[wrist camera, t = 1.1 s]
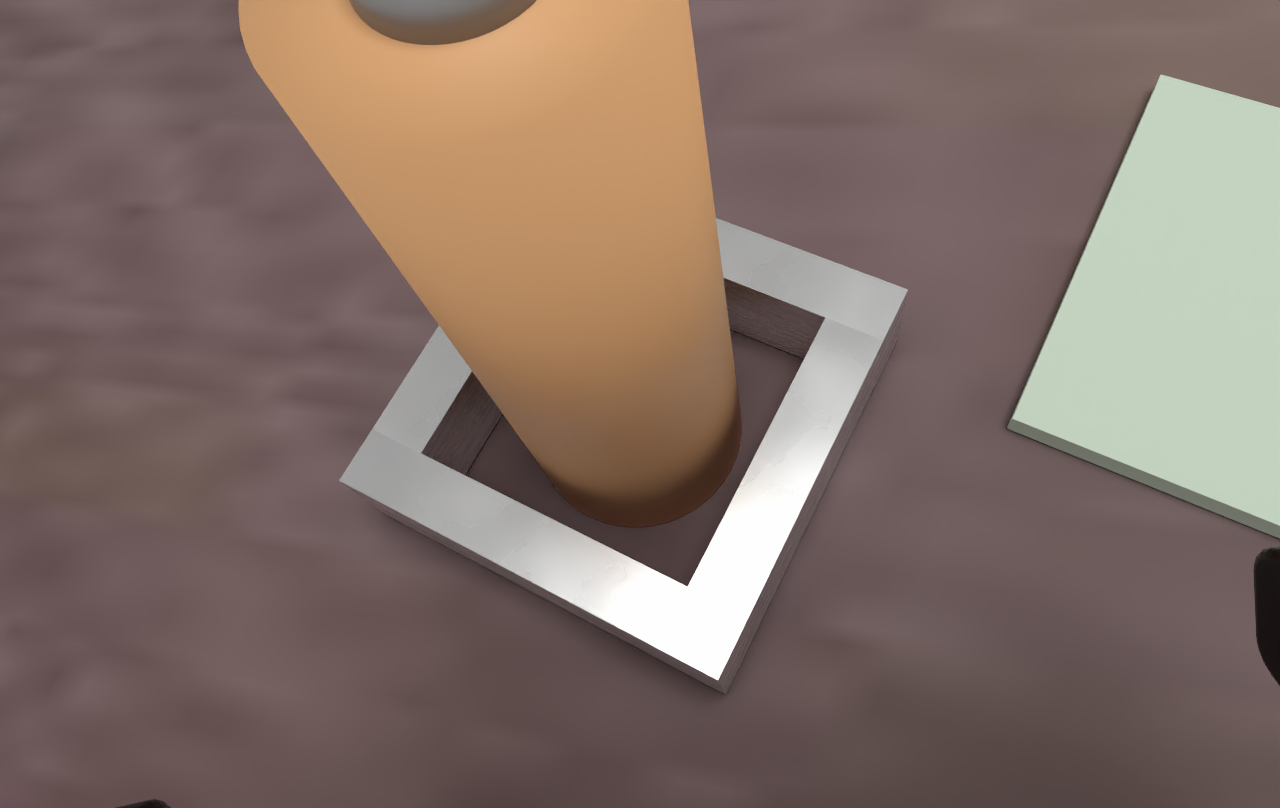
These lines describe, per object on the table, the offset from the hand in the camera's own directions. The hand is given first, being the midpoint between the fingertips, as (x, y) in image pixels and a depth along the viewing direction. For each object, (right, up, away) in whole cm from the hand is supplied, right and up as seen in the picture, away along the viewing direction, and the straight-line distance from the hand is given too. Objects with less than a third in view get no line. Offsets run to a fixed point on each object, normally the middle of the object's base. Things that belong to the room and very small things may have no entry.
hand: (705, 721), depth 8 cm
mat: (+14, +4, +14) cm, 20 cm away
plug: (-1, +2, +15) cm, 15 cm away
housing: (-1, +2, +15) cm, 15 cm away
